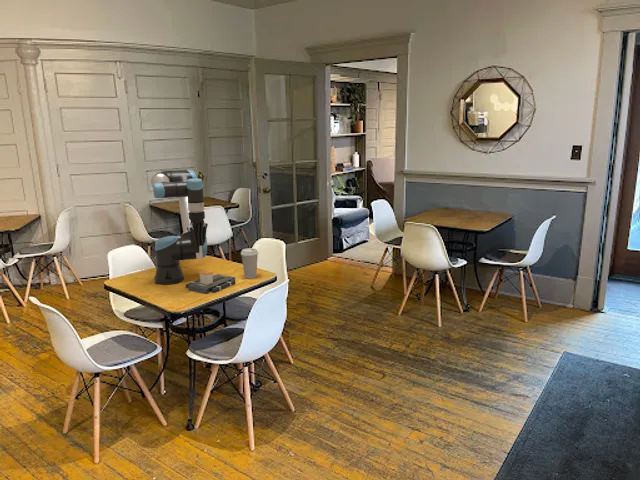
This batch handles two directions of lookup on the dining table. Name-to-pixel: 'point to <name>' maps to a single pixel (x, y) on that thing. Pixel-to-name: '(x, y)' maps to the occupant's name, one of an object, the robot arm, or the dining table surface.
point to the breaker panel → (206, 288)
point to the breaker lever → (206, 277)
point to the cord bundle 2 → (223, 286)
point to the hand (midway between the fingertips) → (199, 258)
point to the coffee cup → (249, 262)
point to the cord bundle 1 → (191, 283)
